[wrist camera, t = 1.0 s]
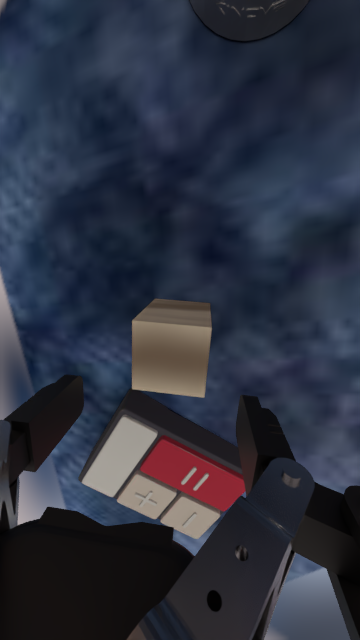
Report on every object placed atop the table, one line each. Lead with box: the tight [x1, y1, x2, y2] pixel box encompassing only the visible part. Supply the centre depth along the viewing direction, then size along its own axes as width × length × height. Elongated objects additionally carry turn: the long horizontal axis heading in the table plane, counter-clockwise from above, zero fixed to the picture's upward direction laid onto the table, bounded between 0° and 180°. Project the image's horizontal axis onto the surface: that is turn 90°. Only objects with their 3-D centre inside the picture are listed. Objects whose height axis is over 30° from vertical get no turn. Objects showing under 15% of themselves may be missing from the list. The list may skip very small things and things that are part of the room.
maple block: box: [132, 299, 212, 398], centre depth 19 cm, size 5×5×7 cm
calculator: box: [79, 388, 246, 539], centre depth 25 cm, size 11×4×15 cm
